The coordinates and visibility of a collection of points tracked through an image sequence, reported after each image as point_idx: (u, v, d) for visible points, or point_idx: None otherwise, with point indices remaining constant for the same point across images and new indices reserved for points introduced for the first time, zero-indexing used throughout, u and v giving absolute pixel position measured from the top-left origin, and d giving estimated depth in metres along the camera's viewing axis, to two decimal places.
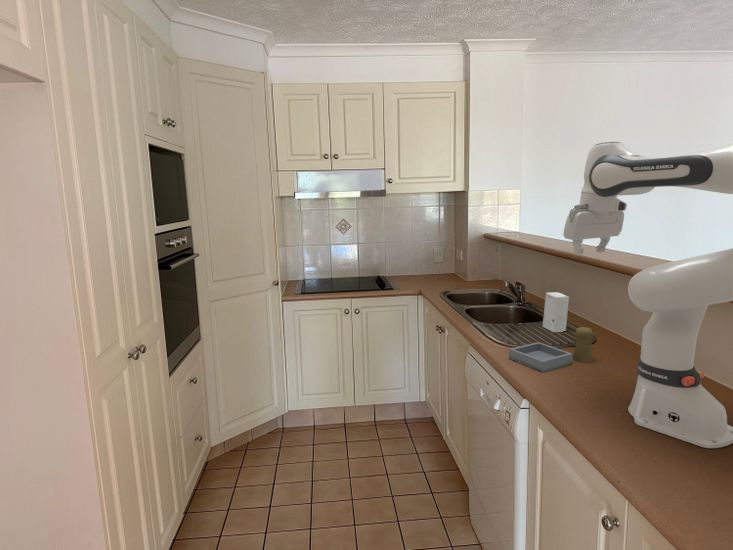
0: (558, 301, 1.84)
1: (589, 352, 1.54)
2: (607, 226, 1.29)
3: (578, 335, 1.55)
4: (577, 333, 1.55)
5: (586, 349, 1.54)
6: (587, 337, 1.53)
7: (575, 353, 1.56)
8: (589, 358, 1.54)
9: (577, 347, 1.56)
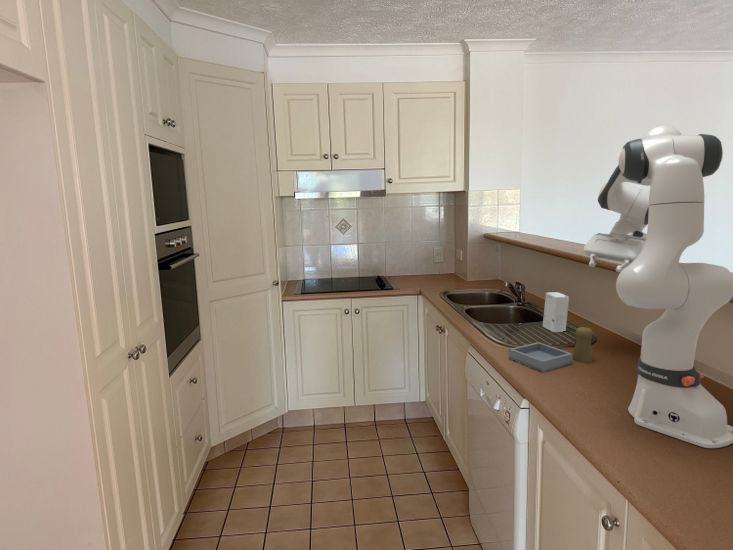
0: (558, 301, 1.84)
1: (589, 352, 1.54)
2: (624, 249, 1.55)
3: (578, 335, 1.55)
4: (577, 333, 1.55)
5: (586, 349, 1.54)
6: (587, 337, 1.53)
7: (575, 353, 1.56)
8: (589, 358, 1.54)
9: (577, 347, 1.56)
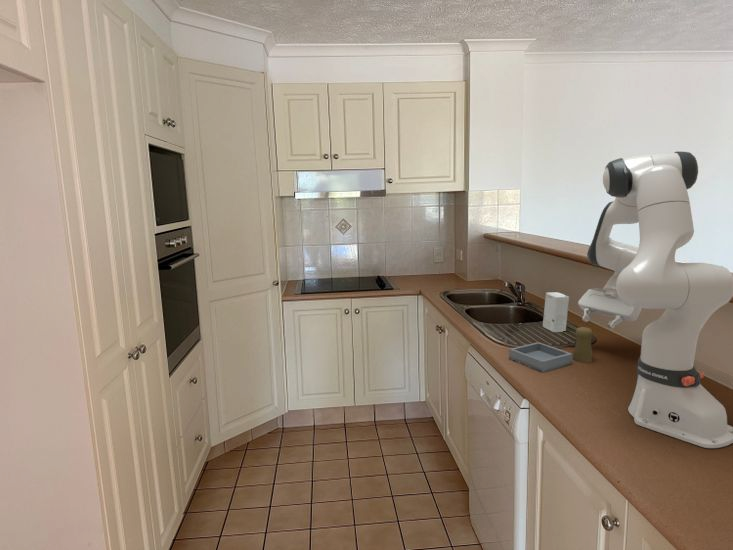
0: (558, 301, 1.84)
1: (589, 352, 1.54)
2: (615, 304, 1.56)
3: (578, 335, 1.55)
4: (577, 333, 1.55)
5: (586, 349, 1.54)
6: (587, 337, 1.53)
7: (575, 353, 1.56)
8: (589, 358, 1.54)
9: (577, 347, 1.56)
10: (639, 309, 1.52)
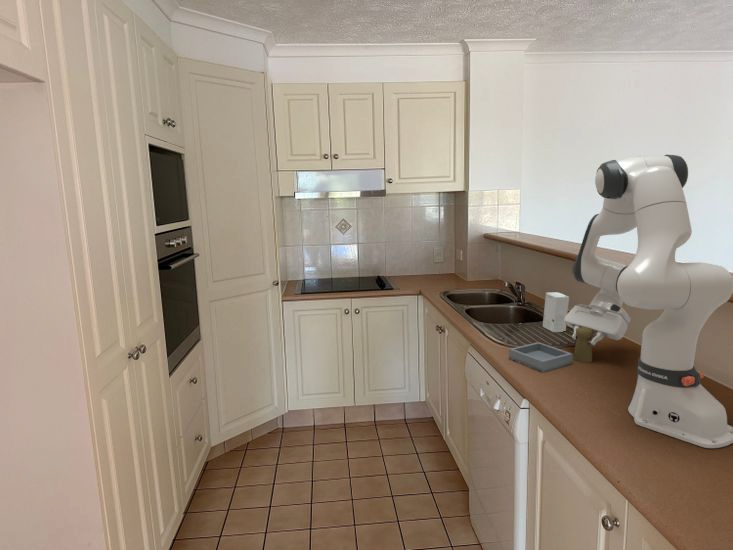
0: (558, 301, 1.84)
1: (589, 352, 1.54)
2: (601, 322, 1.54)
3: (578, 335, 1.55)
4: (577, 333, 1.55)
5: (586, 349, 1.54)
6: (587, 337, 1.53)
7: (575, 353, 1.56)
8: (589, 358, 1.54)
9: (577, 347, 1.56)
10: (624, 328, 1.50)
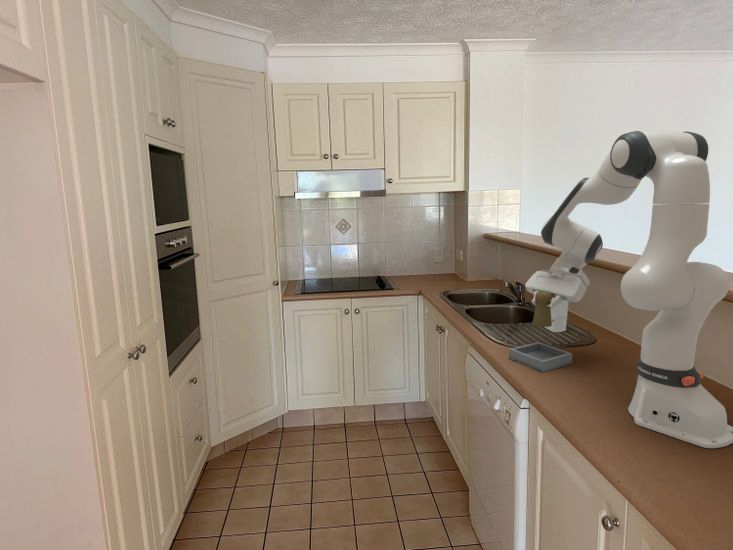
0: None
1: (548, 316, 1.51)
2: (560, 285, 1.50)
3: (537, 299, 1.51)
4: (536, 297, 1.52)
5: (545, 313, 1.51)
6: (546, 301, 1.50)
7: (534, 318, 1.53)
8: (548, 322, 1.51)
9: (536, 311, 1.52)
10: (583, 290, 1.46)
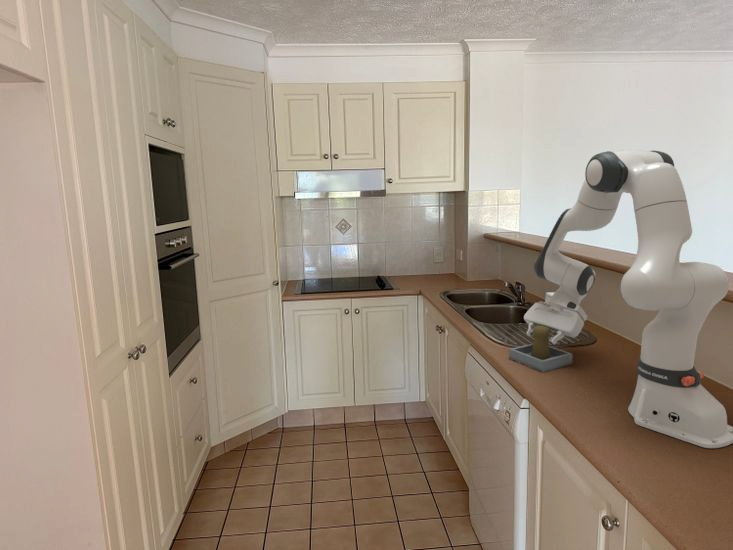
0: None
1: (546, 351, 1.53)
2: (558, 320, 1.52)
3: (535, 334, 1.54)
4: (534, 332, 1.54)
5: (543, 348, 1.53)
6: (544, 336, 1.52)
7: (533, 352, 1.55)
8: (546, 357, 1.53)
9: (534, 346, 1.55)
10: (580, 325, 1.48)
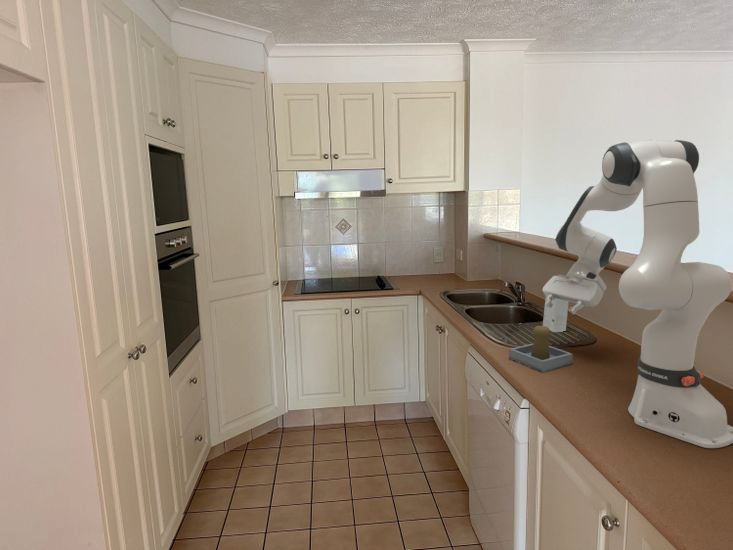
0: (558, 301, 1.84)
1: (546, 351, 1.53)
2: (577, 290, 1.55)
3: (535, 334, 1.53)
4: (534, 332, 1.54)
5: (543, 348, 1.53)
6: (544, 336, 1.52)
7: (533, 352, 1.55)
8: (546, 357, 1.53)
9: (534, 346, 1.55)
10: (600, 295, 1.51)
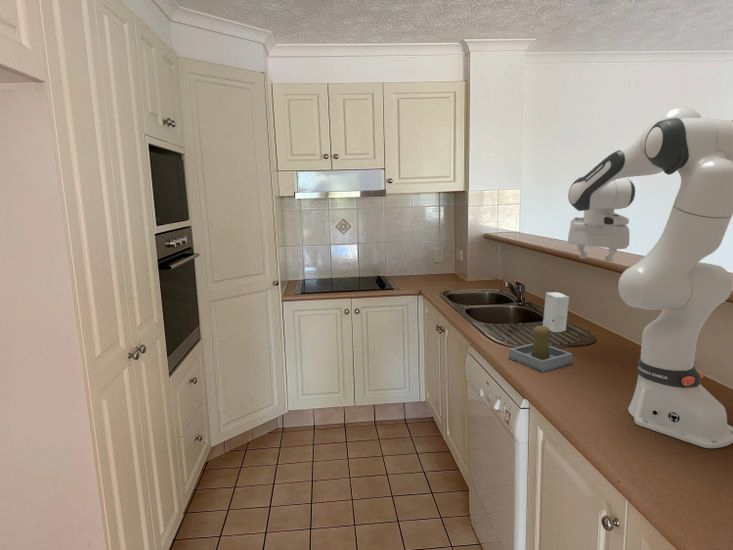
0: (558, 301, 1.84)
1: (546, 351, 1.53)
2: (603, 238, 1.51)
3: (535, 334, 1.53)
4: (534, 332, 1.54)
5: (543, 348, 1.53)
6: (544, 336, 1.52)
7: (533, 352, 1.55)
8: (546, 357, 1.53)
9: (534, 346, 1.55)
10: (627, 234, 1.46)
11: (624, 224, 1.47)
